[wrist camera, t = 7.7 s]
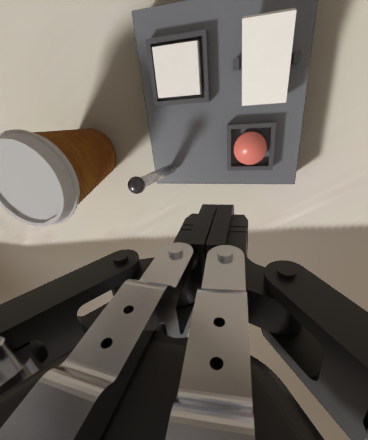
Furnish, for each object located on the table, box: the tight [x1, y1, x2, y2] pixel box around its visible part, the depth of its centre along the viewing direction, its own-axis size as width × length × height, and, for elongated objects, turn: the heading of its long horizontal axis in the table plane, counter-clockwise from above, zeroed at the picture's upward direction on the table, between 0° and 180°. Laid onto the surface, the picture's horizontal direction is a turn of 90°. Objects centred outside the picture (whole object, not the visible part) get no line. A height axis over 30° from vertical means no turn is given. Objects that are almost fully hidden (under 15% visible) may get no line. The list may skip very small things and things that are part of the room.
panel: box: [132, 0, 317, 184], centre depth 25 cm, size 16×15×4 cm
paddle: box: [152, 40, 203, 98], centre depth 23 cm, size 4×4×1 cm
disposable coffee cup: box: [0, 129, 116, 227], centre depth 28 cm, size 10×10×12 cm
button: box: [234, 130, 267, 165], centre depth 24 cm, size 3×3×1 cm
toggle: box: [128, 164, 176, 194], centre depth 25 cm, size 2×2×7 cm
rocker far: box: [242, 8, 297, 106], centre depth 20 cm, size 6×4×2 cm, turn 5°
